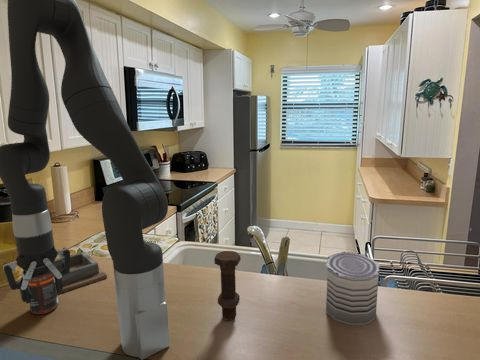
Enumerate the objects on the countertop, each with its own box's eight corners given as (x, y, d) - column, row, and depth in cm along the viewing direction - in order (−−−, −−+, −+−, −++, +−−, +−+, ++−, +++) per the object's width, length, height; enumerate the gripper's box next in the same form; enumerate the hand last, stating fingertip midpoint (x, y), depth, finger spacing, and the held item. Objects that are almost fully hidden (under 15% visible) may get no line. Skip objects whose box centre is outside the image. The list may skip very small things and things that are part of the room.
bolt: (219, 326, 78) (216, 261, 75) (214, 313, 83) (212, 252, 79) (244, 321, 79) (243, 258, 76) (238, 309, 84) (237, 249, 81)
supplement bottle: (64, 302, 89) (58, 259, 86) (49, 316, 83) (42, 270, 80) (41, 301, 89) (34, 258, 87) (24, 315, 83) (17, 270, 81)
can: (374, 301, 86) (377, 254, 84) (379, 329, 76) (382, 277, 73) (325, 295, 89) (327, 250, 87) (323, 321, 79) (325, 271, 76)
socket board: (107, 277, 101) (105, 264, 100) (52, 295, 92) (50, 281, 91) (87, 260, 112) (86, 248, 112) (37, 274, 103) (35, 261, 103)
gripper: (-2, 243, 74) (11, 315, 78) (71, 226, 84) (79, 292, 87) (-7, 233, 80) (5, 302, 84) (62, 219, 89) (70, 281, 93)
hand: (43, 296), depth 85 cm, fingers closed on supplement bottle, 6 cm apart
